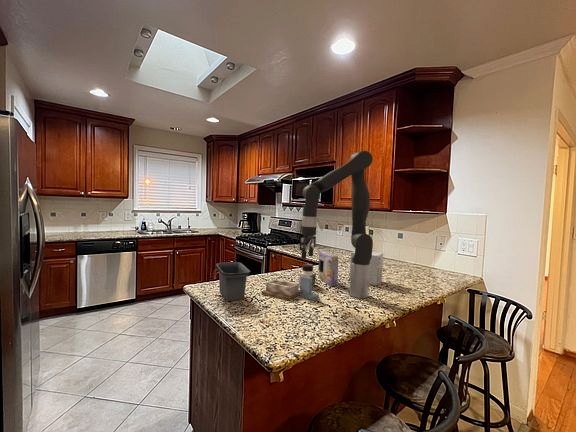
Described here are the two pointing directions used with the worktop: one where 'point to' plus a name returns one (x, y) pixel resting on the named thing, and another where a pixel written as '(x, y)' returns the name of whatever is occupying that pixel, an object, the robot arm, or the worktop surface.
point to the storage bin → (232, 280)
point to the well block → (281, 289)
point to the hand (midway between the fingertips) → (307, 257)
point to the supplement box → (373, 267)
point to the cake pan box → (328, 268)
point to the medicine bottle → (307, 273)
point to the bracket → (307, 288)
